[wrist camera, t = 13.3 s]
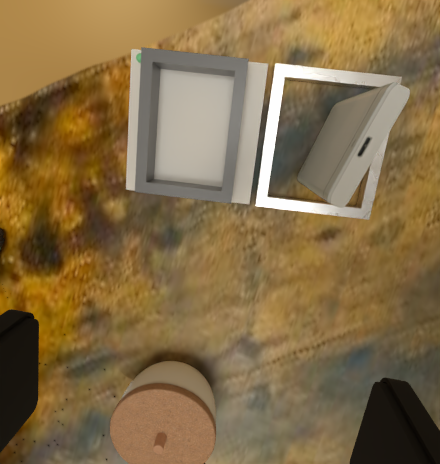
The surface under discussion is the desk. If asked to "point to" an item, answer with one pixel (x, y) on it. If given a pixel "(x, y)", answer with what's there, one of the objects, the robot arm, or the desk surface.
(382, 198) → the desk surface
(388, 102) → the hard drive
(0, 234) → the card reader
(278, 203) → the rectangular frame tray
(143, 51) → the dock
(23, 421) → the robot arm
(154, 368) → the lidded jar
